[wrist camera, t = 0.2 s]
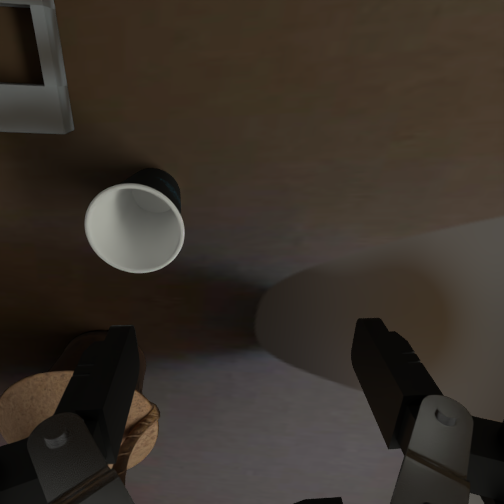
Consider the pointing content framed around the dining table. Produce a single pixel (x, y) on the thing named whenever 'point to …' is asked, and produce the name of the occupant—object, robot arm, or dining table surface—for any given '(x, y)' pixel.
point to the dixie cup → (137, 222)
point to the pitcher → (51, 391)
